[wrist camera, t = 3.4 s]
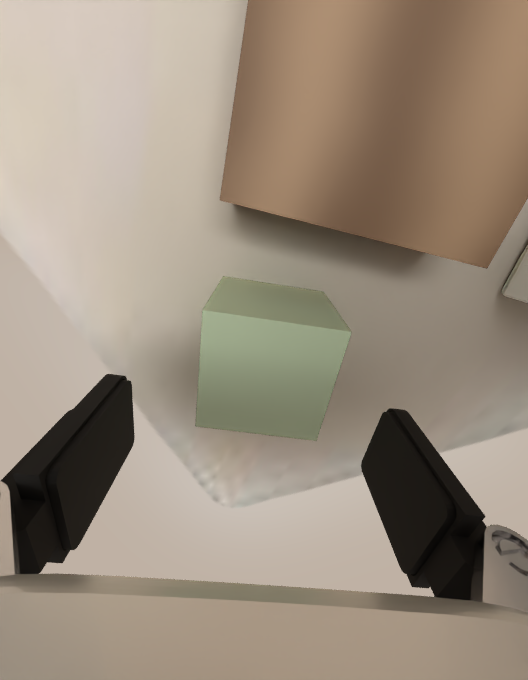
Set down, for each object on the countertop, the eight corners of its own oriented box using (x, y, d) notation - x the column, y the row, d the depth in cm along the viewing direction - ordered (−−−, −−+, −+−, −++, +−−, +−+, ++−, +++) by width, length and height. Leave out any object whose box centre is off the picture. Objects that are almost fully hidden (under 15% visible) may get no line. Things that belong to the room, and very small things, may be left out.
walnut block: (551, -26, 11) (750, -190, 6) (422, 251, 16) (486, 268, 11) (287, -127, 10) (306, -409, 5) (233, 203, 15) (219, 200, 10)
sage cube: (323, 291, 16) (351, 332, 11) (301, 374, 19) (316, 440, 14) (223, 276, 16) (202, 309, 11) (215, 363, 19) (195, 426, 13)
